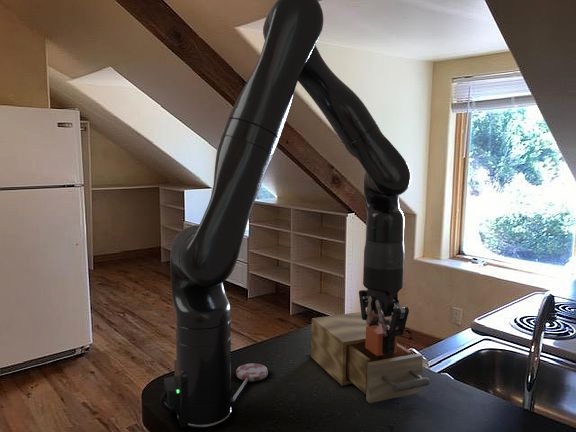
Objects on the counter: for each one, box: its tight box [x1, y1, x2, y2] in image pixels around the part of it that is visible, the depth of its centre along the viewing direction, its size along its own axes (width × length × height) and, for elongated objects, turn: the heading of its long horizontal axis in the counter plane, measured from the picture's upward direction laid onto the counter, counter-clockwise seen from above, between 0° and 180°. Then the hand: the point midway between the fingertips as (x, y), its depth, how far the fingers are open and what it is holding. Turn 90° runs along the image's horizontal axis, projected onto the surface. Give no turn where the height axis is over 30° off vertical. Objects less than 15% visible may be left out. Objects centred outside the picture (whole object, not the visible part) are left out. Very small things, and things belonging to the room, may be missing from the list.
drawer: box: [346, 342, 430, 404], centre depth 92 cm, size 18×11×7 cm, turn 22°
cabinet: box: [310, 311, 367, 386], centre depth 103 cm, size 15×13×9 cm
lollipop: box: [231, 363, 269, 402], centre depth 95 cm, size 7×1×15 cm
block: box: [365, 324, 398, 356], centre depth 93 cm, size 4×4×4 cm
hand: (380, 348), depth 93 cm, fingers closed on block, 4 cm apart
